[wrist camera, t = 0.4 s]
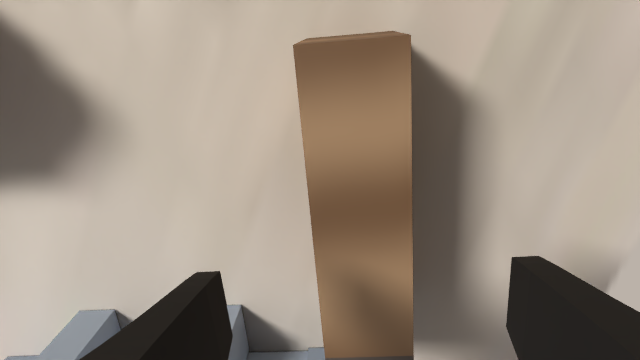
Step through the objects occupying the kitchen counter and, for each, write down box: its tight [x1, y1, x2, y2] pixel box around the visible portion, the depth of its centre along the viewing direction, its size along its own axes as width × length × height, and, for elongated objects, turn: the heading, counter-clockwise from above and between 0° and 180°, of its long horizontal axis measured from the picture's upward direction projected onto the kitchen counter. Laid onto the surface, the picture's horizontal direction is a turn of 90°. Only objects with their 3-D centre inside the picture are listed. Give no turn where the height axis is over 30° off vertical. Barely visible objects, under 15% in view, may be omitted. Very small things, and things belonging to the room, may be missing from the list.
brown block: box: [293, 31, 414, 360], centre depth 17 cm, size 13×4×5 cm, turn 5°
